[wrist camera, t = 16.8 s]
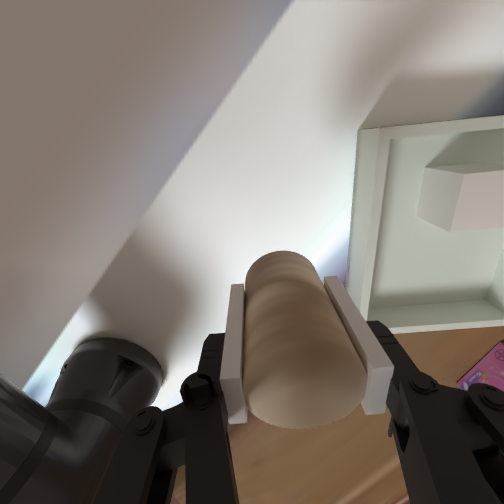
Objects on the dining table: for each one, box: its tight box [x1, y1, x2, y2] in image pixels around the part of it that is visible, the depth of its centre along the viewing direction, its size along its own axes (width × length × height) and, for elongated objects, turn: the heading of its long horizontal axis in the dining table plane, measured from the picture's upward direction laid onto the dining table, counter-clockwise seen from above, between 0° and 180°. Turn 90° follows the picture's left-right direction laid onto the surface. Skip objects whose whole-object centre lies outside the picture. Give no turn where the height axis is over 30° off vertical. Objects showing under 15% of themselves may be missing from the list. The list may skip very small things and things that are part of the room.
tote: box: [345, 115, 504, 334], centre depth 28 cm, size 20×24×5 cm
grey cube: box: [416, 162, 504, 232], centre depth 25 cm, size 6×6×6 cm
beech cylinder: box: [242, 251, 368, 429], centre depth 13 cm, size 5×5×8 cm
